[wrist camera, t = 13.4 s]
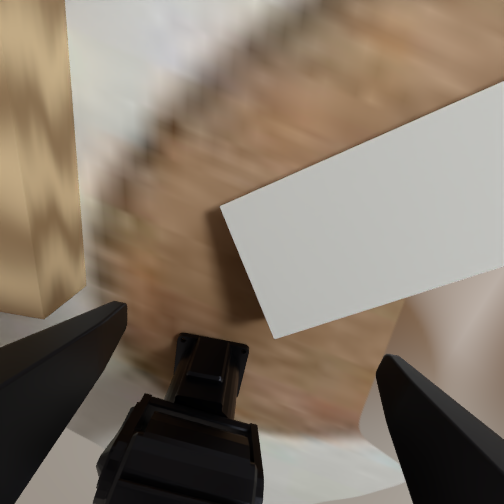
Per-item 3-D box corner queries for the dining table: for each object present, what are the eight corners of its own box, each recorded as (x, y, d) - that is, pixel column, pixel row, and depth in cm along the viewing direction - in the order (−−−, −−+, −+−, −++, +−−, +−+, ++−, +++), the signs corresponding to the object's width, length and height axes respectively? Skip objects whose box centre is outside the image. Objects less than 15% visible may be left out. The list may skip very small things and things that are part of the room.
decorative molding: (235, 208, 23) (278, 314, 23) (219, 206, 18) (274, 339, 19) (742, -12, 16) (781, 145, 17) (926, -106, 11) (971, 117, 12)
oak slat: (88, 284, 23) (44, 319, 19) (42, 276, 23) (-14, 309, 18) (55, -167, 13) (-58, -333, 9) (-25, -184, 13) (-184, -362, 9)
